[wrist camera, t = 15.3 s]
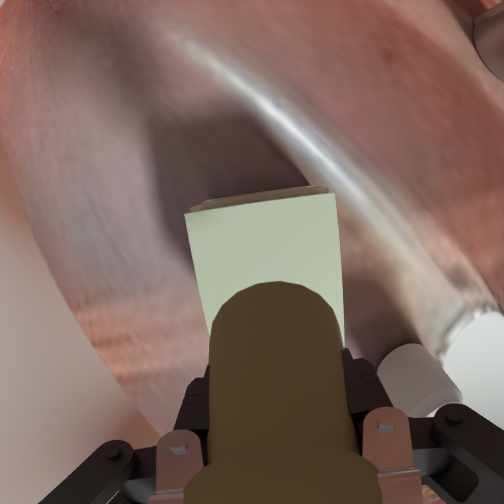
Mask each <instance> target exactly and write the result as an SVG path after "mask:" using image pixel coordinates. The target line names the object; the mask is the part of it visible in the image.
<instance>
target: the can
mask: <svg viewBox="0 0 504 504" xmlns="http://www.w3.org/2000/svg"><path fill="white" fill-rule="evenodd" d="M377 375H378V377H379V379H380V381H381V383H382V385H383V387H384V389H385V391H386V393H387V394H388V396H389V398H390V400H391V402H392V404H393V406H394V408H398V409H400V410H402V411H403V412H404V413H405V414H406V415H407V417H413V418H422V417H434V415H435V413H436V411H437V410H438V409H439V408H440V407H442V406H444V405H446V404H450V403H460V404H462V400H463V397H462V393H461V392H460V390H459V389H458V388H457V386H456V385H455V384H454V383H453V381H452V380H451V379H450V378H449V376H448V375H447V374H446V373H445V371H444V370H443V369H442V368H441V366H440V365H439V364H438V363H437V362H436V360H435V359H434V358H433V357H432V356H431V354H430V353H429V352H428V351H427V350H426V349H425V348H424V347H423V346H422V345H419V344H416V343H411V344H405V345H402V346H400V347H398V348H396V349H395V350H393V351H392V352H390V353H389V354H388V355H387V356H386V357H385V358H384V359H383V361H382V362H381V364H380V366H379V367H378V371H377Z"/></svg>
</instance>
